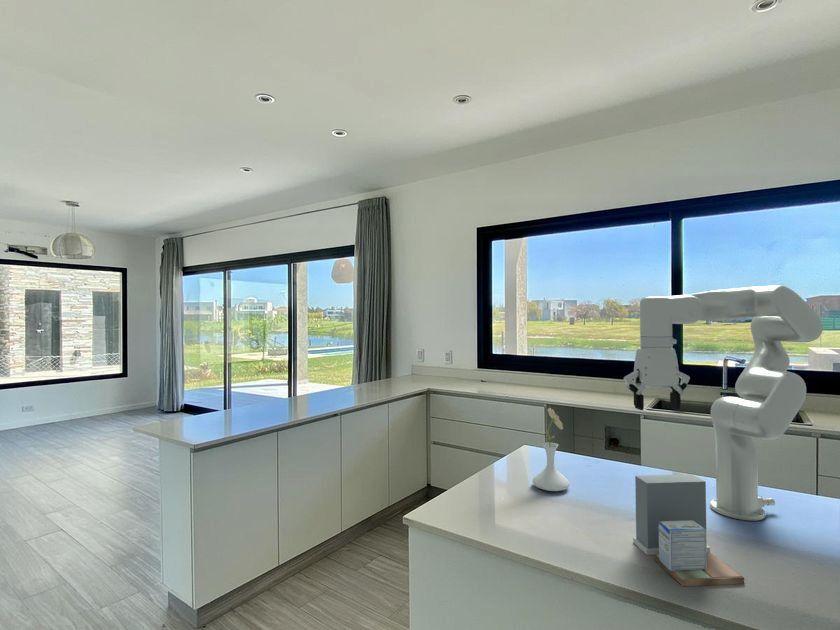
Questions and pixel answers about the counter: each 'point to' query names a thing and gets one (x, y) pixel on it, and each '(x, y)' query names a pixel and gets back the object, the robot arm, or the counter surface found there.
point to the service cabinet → (667, 505)
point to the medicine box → (682, 545)
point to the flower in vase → (551, 464)
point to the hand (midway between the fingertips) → (657, 408)
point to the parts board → (705, 573)
